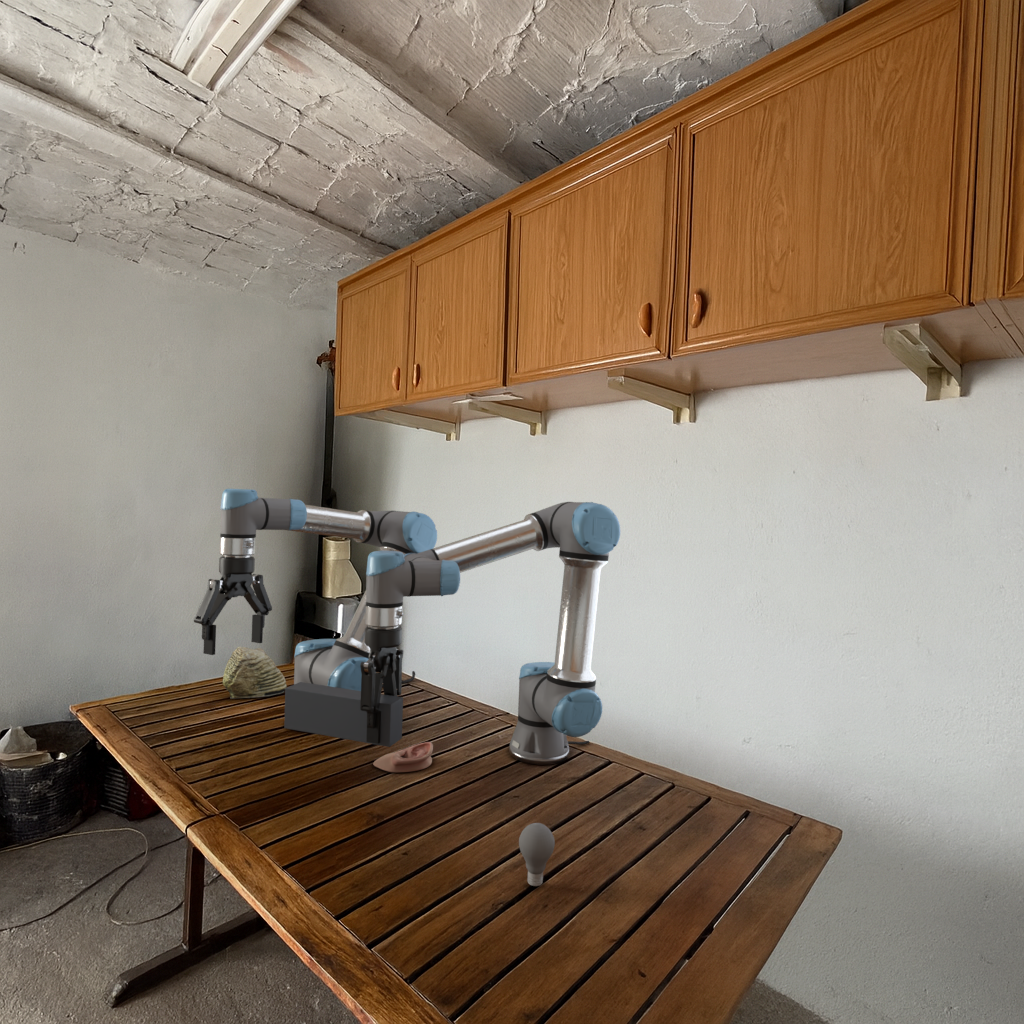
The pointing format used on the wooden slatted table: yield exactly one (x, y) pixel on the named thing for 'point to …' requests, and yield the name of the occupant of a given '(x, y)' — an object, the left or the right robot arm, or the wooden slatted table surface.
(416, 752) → the anatomical model
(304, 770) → the wooden slatted table surface
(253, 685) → the fossil
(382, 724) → the bar
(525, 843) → the light bulb
